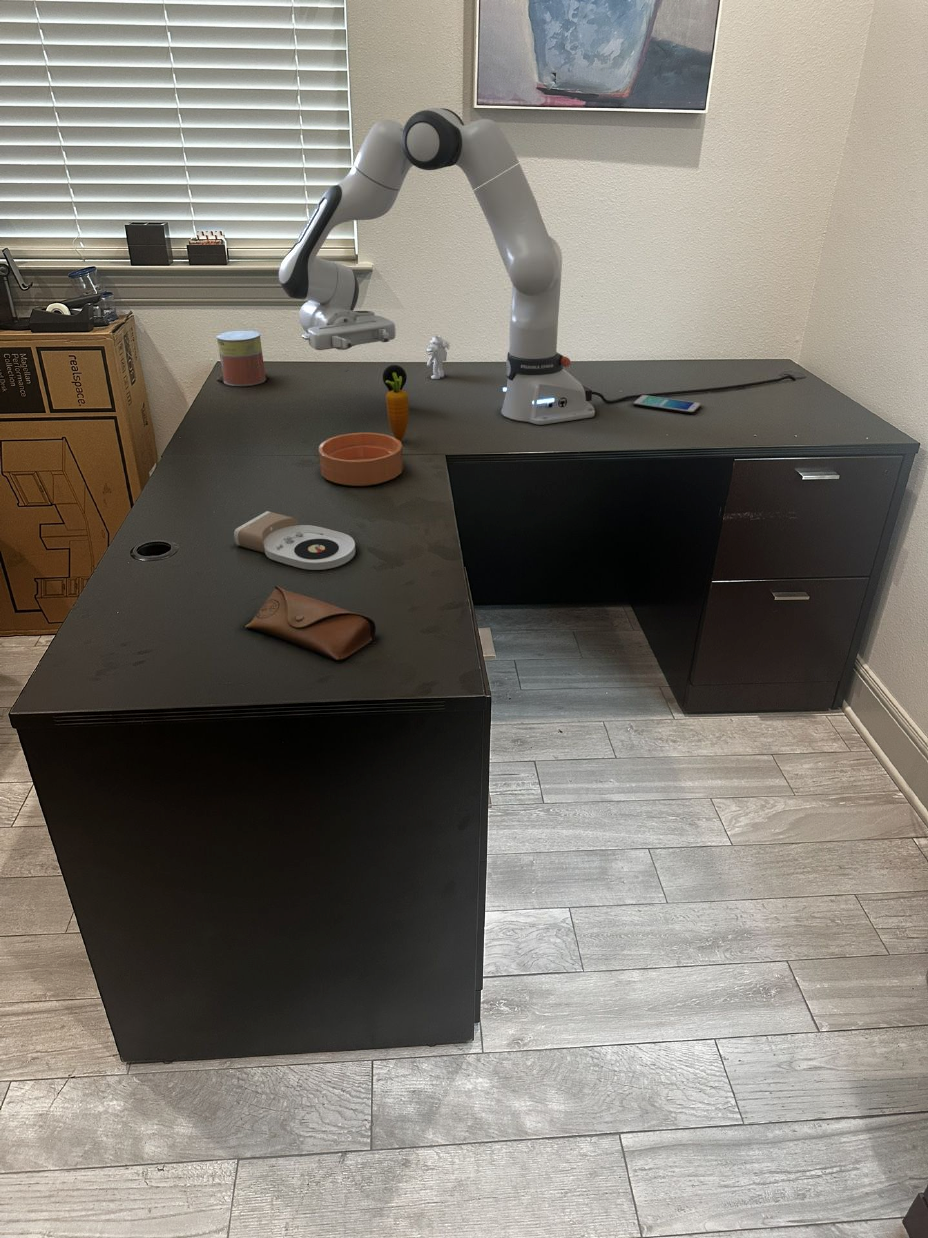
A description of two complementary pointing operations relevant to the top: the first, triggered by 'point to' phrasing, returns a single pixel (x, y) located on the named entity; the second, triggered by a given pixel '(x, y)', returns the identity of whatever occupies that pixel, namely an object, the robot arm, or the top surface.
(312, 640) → the sunglasses case
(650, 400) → the smartphone
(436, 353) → the hat wearing toy figure
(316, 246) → the robot arm
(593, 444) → the top surface
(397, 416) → the carrot
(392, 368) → the light bulb
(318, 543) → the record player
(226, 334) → the canned food
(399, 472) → the pot
